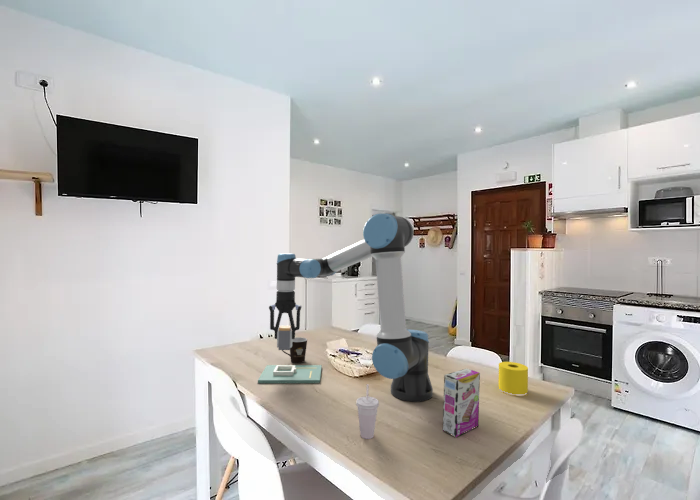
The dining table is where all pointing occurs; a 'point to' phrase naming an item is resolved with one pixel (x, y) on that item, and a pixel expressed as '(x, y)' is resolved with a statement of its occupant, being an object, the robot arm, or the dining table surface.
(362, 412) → the smoothie
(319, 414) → the dining table surface
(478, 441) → the dining table surface
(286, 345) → the plug
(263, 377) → the board
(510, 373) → the yellow toilet paper roll
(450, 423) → the candy bar box
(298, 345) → the coffee mug
